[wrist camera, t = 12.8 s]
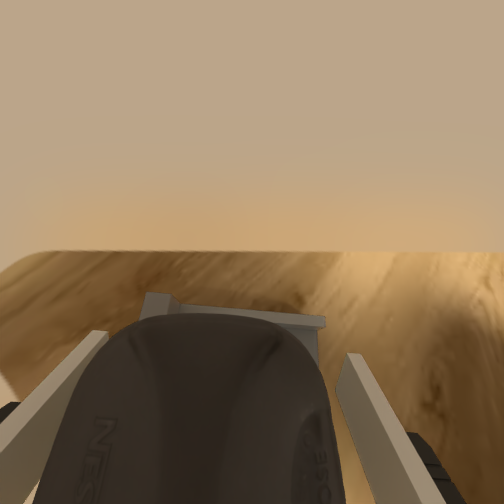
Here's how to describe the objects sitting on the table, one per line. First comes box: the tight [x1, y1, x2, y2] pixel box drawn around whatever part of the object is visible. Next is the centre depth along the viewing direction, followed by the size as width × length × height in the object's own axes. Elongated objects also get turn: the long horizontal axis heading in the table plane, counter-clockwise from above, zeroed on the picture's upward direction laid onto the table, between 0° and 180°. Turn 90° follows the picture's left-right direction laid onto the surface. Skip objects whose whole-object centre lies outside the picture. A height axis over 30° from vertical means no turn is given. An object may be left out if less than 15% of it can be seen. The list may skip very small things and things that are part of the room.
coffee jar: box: [32, 313, 346, 504], centre depth 12 cm, size 10×8×19 cm
